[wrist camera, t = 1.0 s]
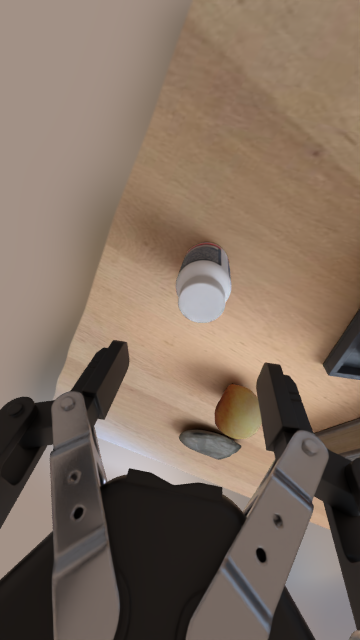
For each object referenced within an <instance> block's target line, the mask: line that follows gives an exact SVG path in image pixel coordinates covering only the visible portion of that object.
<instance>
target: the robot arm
mask: <svg viewBox="0 0 360 640" xmlns="http://www.w3.org/2000/svg"><path fill="white" fill-rule="evenodd" d="M128 367H129V353H128V345H127V342H123V341H117V340H113V341H112V343H111V344H110V346H109V347H108V348H102V349H101V350H100V351H98V352H97V353H96V354H95V356H94V357H93V359H92V360H91V362H90V363H89V364H88V367H86V369H85V370H84V372H83V373H82V375H81V376H80V378H79V379H78V381H77V382H76V384H75V385H74V387H73V388H72V390H71V391H70V392H66V393H64V394H62V395H60V396H59V397H58V398H57V399H56V400H53V401H46V402H39V403H34V401H33V400H32V399H31V398H29V397H20V398H16V399H14V400H12V401H10V402H8V403H7V404H6V405H5V406H3V407H2V409H1V410H0V528H1V527H2V525H3V523H4V521H5V520H6V518H7V516H8V514H9V513H10V511H11V509H12V507H13V505H14V504H15V502H16V500H17V498H18V497H19V495H20V493H21V491H22V490H23V488H24V486H25V484H26V482H27V481H28V479H29V477H30V475H31V474H32V472H33V470H34V468H35V466H36V465H37V463H38V461H39V459H40V458H41V456H42V454H43V452H44V451H45V449H46V447H47V445H52V444H53V445H54V448H53V451H52V452H51V453H50V474H51V495H52V496H51V497H52V519H53V531H52V532H51V533H50V534H49V535H48V536H47V537H46V538H45V539H44V540H43V541H42V542H40V543H39V544H38V545H37V546H36V547H35V548H34V549H33V550H32V551H31V552H30V553H29V554H28V555H26V556H25V557H24V558H23V559H22V560H21V561H20V562H19V563H18V564H17V565H16V566H15V567H14V568H13V569H11V570H10V571H9V572H8V573H7V574H6V575H5V576H4V577H3V578H2V579H1V580H0V640H315V638H314V636H313V634H312V633H311V631H310V629H309V627H308V625H307V624H306V622H305V620H304V618H303V617H302V615H301V613H300V611H299V609H298V608H297V606H296V604H295V602H294V601H293V599H292V597H291V595H290V593H289V592H288V590H287V588H286V586H285V583H286V581H287V578H288V575H289V573H290V570H291V568H292V565H293V562H294V560H295V557H296V555H297V552H298V549H299V547H300V544H301V541H302V539H303V536H304V534H305V530H306V529H307V526H308V523H309V521H310V518H311V515H312V513H313V508H314V505H313V504H312V500H313V497H314V496H315V497H316V498H318V499H320V500H322V501H323V503H324V506H325V510H326V514H327V518H328V522H329V525H330V529H331V533H332V537H333V540H334V544H335V548H336V552H337V556H338V559H339V563H340V567H341V571H342V575H343V578H344V582H345V586H346V590H347V593H348V597H349V601H350V605H351V609H352V613H353V616H354V620H355V624H356V628H357V631H355V632H353V633H352V635H351V636H350V638H349V640H360V458H356V459H355V460H353V461H351V460H349V459H347V458H345V457H343V456H341V455H338V454H336V453H334V452H332V451H331V450H329V449H327V448H326V446H325V445H324V443H323V442H322V441H321V440H320V439H319V438H318V437H317V436H316V435H314V433H313V431H312V428H311V426H310V423H309V420H308V417H307V414H306V411H305V409H304V406H303V403H302V402H301V401H302V400H301V397H300V395H299V392H298V389H297V386H296V384H295V382H294V381H293V380H292V379H291V377H290V376H288V375H283V371H282V368H281V366H280V365H279V364H272V363H264V365H263V368H262V370H261V372H260V375H259V377H258V380H257V385H256V390H257V396H258V402H259V408H260V414H261V420H262V426H263V432H264V438H265V444H266V450H268V451H273V452H274V454H275V460H274V462H273V463H272V465H271V467H270V468H269V470H268V472H267V473H266V475H265V477H264V478H263V480H262V482H261V483H260V485H259V487H258V488H257V490H256V492H255V493H254V495H253V496H252V498H251V499H250V501H249V502H248V504H247V506H246V507H245V509H244V511H243V512H242V511H241V510H240V508H239V507H238V506H237V505H236V504H235V503H234V502H233V501H232V500H230V499H229V498H228V497H226V496H225V495H223V494H222V487H218V486H213V485H208V484H204V483H190V484H181V485H172V484H170V483H168V482H167V481H165V480H163V479H161V478H160V477H158V476H156V475H154V474H152V473H150V472H145V471H140V470H135V469H129V471H128V474H127V475H123V476H119V477H116V478H114V479H112V480H110V481H108V482H107V478H106V474H105V471H104V467H103V463H102V459H101V455H100V450H99V445H98V441H97V436H96V432H95V427H94V425H95V423H96V421H97V419H103V420H105V417H106V415H107V413H108V411H109V409H110V407H111V404H112V402H113V400H114V398H115V396H116V394H117V391H118V389H119V387H120V385H121V383H122V381H123V378H124V376H125V374H126V372H127V370H128Z"/></svg>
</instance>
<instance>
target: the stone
mask: <svg viewBox="0 0 360 640" xmlns="http://www.w3.org/2000/svg"><path fill="white" fill-rule="evenodd" d="M179 439H180V441H181V442H182V443H183V444H184V445H185V446H187V447H188V448H190V449H192V450H195V451H197V452H199V453H202V454H204V455H207V456H210V457H213V458H215V459H218V460H219V459H223V458H227V457H230V456H231V455H232V454H234V453H236V452H237V451H238V450H239V449H240V448H241V445H239V444H238V443H236V442H235V441H234V440H231V439H229V438H227V437H225V436H223V435H219V434H216V433H213V432H209V431H204V430H187V431H184V432H182V433H181V434H180V436H179Z"/></svg>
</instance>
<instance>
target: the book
mask: <svg viewBox="0 0 360 640" xmlns="http://www.w3.org/2000/svg"><path fill="white" fill-rule="evenodd" d="M314 435H316V436H317V437H318V438H319V439H320V440H321V441H322V442H323V443H324V445H325V446H326V448H327V449H329V450H331V451H332V452H334V453H336V454H338V455H341V456H343V457H345V458H347V459H349V460H351V461H353V460H355V459H356V458H360V418H359V419H356V420H353V421H350V422H347V423H344V424H341V425H338V426H335V427H332V428H329V429H327V430H324V431H321V432H318V433H315V434H314Z"/></svg>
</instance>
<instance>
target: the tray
mask: <svg viewBox="0 0 360 640" xmlns="http://www.w3.org/2000/svg"><path fill="white" fill-rule="evenodd" d="M323 366H324V368H325V370H326V372H327V374H328V375H329V376H336V377H343V378H350V379H357V380H360V309H359V311H358V312H357V314H356V315H355V317H354V318H353V320H352V321H351V323H350V324H349V326H348V327H347V329H346V330H345V332H344V333H343V335H342V336H341V338H340V339H339V341H338V342H337V344H336V345H335V347H334V348H333V350H332V351H331V353H330V355H329V356H328V358H327V359H326V361H325V362H324V364H323Z"/></svg>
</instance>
